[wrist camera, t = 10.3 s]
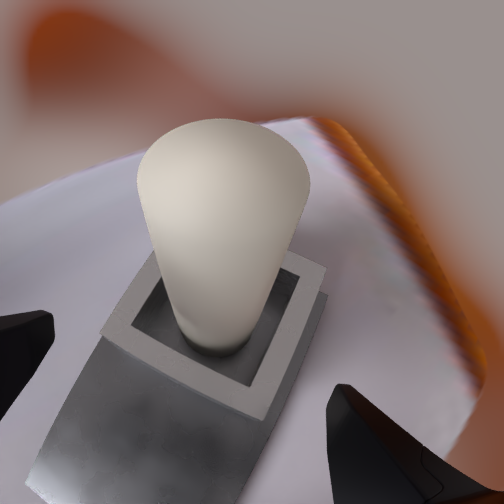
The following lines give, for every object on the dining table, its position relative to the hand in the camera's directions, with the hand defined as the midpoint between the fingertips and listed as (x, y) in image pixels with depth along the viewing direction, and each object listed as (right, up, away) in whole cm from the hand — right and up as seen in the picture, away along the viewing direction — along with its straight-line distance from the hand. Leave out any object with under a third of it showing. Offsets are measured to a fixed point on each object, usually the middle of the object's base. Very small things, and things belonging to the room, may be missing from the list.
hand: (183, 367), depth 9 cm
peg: (0, -1, +10) cm, 10 cm away
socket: (-3, -5, +8) cm, 10 cm away
